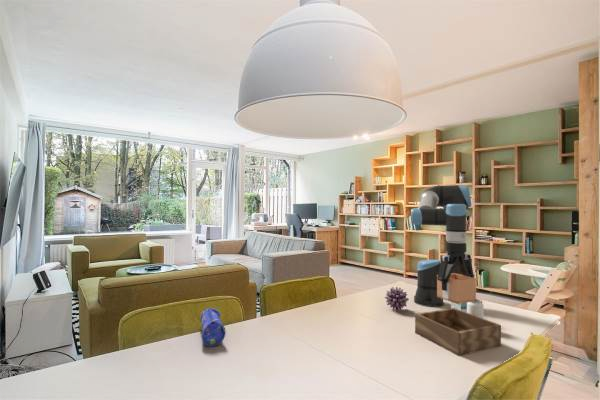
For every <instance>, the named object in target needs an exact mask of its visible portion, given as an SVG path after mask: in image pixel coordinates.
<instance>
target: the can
mask: <svg viewBox="0 0 600 400" xmlns="http://www.w3.org/2000/svg"><path fill="white" fill-rule="evenodd" d="M484 310H485V309H484V303H483V300H481V299H477V298H476V301H474V302H467V313H469V314H472V315H475V316H477V317H480V318H483V319H485V318H484V317H485V315H484V314H485V312H484Z"/></svg>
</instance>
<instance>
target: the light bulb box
mask: <svg viewBox="0 0 600 400" xmlns="http://www.w3.org/2000/svg"><path fill="white" fill-rule="evenodd" d="M450 306H451V308H456V309H458V310H461V311H464V312H466V313H467V303H460V304H456V303H453V302H450Z"/></svg>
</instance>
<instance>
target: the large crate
mask: <svg viewBox="0 0 600 400" xmlns="http://www.w3.org/2000/svg"><path fill="white" fill-rule="evenodd" d="M414 334H416V335H419V336H420V337H421V338H424V339H426V340H428V341H430V342H431V343H433V344H434V345H437V346H439V347H440V348H443V349H444V350H447V351H448V352H451V354H455V355H456V356H458V357H460V356H463V355H464V356H465V355H468V354H471V353H477V352H481V351H485V350H490V349H494V348H498V347H499V348H500V347H502V325H501V324H499V323H496V322H493V321H490V320H488V319H486V318H484V319H483V318H480V317H477V316H475V315H472V314H469V313H466V312H464V311H461V310H458V309H456V308H446V309H445V308H444V309H439V310H438V309H437V310H432V311H426V312H425V311H424V312H417V313H415V314H414Z"/></svg>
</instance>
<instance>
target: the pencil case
mask: <svg viewBox="0 0 600 400" xmlns="http://www.w3.org/2000/svg"><path fill="white" fill-rule="evenodd" d="M199 320H200V323H201V329H202V330H201V331H202V333H201V339H202V341H203V343H204V345H206V346H207V347H210V346H213V347H216V345H217V346H219V345H220V344H221V343H222V342H223V341H224V339H225V337H226V328H225V326H224V324H223V322H222V321H221V313H220V311H219V310H218V309H216V308H214V307H213V308H211V307H208V308H206V309H204V310H203V311H202V312H201V313H200V316H199Z"/></svg>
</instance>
